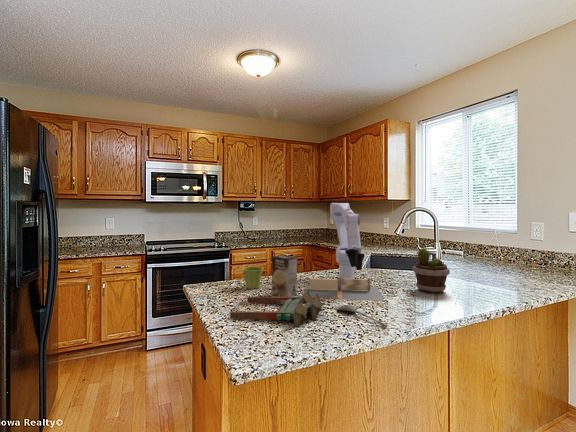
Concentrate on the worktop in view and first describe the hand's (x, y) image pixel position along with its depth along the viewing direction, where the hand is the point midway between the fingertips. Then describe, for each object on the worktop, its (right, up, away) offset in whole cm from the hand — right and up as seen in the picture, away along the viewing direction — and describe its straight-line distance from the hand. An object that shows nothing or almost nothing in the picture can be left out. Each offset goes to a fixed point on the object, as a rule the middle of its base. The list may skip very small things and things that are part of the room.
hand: (356, 268), depth 140 cm
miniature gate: (-33, -11, -30) cm, 46 cm away
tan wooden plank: (-1, -9, -3) cm, 9 cm away
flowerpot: (+33, -10, 0) cm, 34 cm away
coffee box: (-32, -10, -7) cm, 34 cm away
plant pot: (-46, -10, +5) cm, 48 cm away
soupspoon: (-6, -11, -35) cm, 37 cm away
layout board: (-7, -10, -5) cm, 13 cm away
